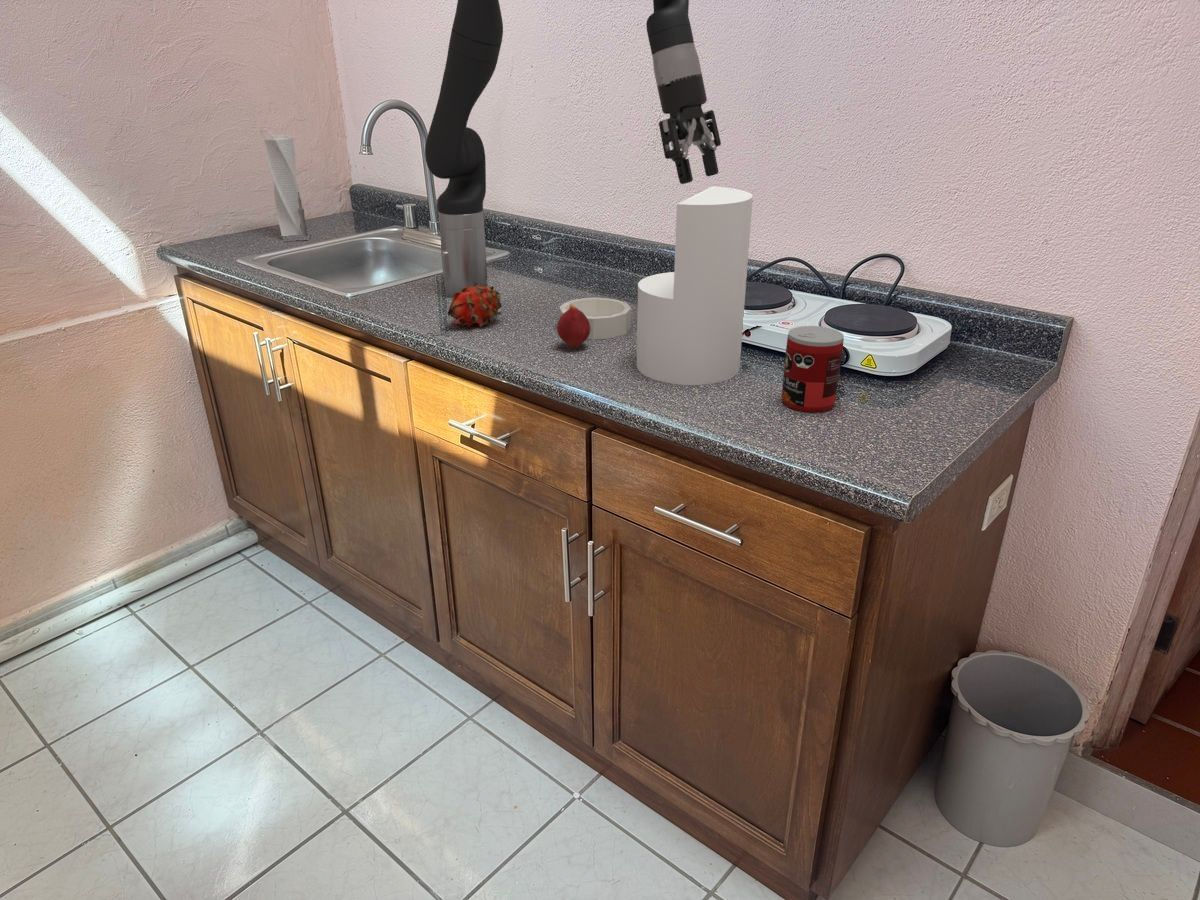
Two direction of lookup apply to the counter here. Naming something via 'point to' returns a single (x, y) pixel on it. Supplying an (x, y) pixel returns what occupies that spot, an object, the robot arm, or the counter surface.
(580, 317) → the onion
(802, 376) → the canned food
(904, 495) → the counter surface
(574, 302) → the ramekin
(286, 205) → the skyscraper
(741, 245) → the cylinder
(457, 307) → the dragon fruit
